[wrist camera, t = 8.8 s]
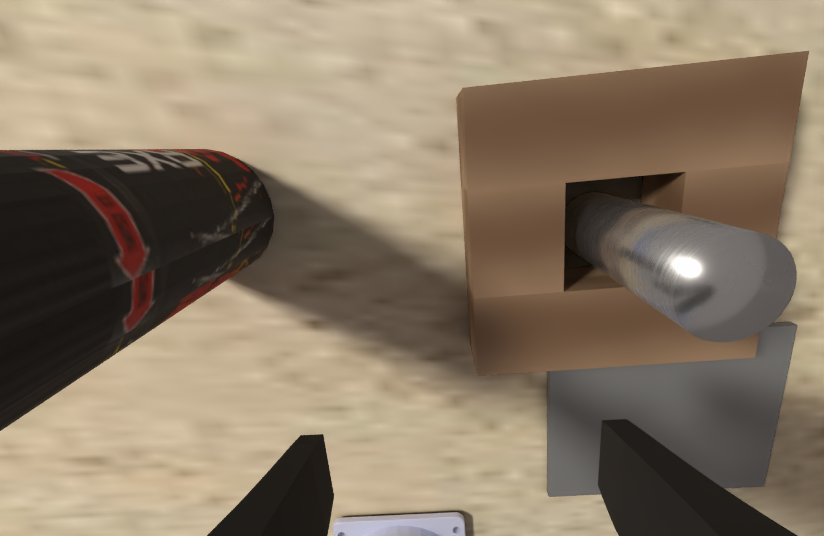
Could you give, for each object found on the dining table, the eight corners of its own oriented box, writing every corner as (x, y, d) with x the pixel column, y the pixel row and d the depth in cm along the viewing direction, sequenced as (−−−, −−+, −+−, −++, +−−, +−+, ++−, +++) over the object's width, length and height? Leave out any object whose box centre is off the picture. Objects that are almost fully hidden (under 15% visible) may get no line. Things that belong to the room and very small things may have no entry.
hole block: (707, 327, 20) (755, 357, 17) (470, 344, 21) (477, 376, 18) (742, 67, 17) (809, 50, 14) (456, 97, 17) (462, 87, 14)
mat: (758, 480, 23) (764, 486, 22) (546, 491, 23) (549, 496, 23) (790, 321, 20) (797, 325, 19) (547, 338, 20) (550, 342, 20)
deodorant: (269, 151, 18) (-317, 164, 4) (277, 274, 20) (-104, 603, 6) (142, 146, 18) (-902, 141, 4) (161, 269, 20) (-510, 578, 6)
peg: (624, 248, 19) (791, 332, 10) (561, 259, 19) (673, 350, 11) (622, 186, 18) (801, 221, 10) (556, 198, 18) (672, 243, 10)
